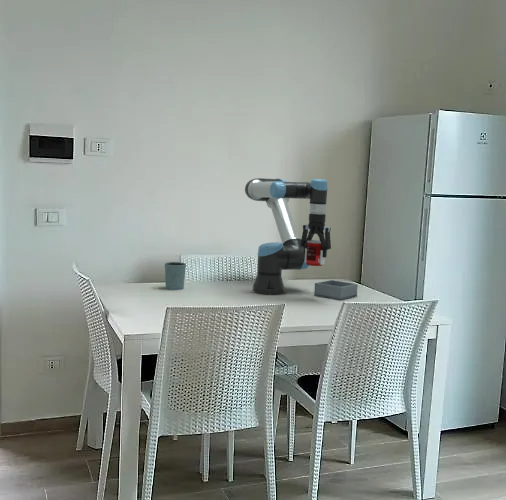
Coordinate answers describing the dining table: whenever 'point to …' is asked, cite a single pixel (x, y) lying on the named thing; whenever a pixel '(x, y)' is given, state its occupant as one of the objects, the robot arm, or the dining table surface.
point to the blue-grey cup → (175, 275)
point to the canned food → (313, 252)
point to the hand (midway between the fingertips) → (314, 263)
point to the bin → (335, 289)
